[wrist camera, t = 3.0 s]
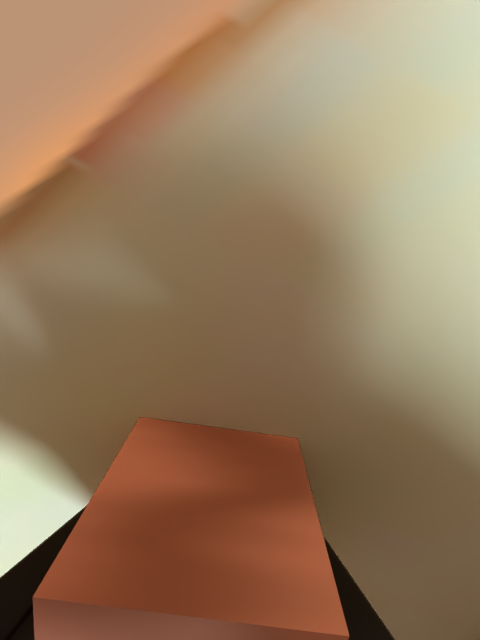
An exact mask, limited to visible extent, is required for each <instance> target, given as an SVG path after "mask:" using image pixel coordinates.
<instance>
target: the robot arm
mask: <svg viewBox="0 0 480 640" xmlns="http://www.w3.org/2000/svg"><path fill="white" fill-rule="evenodd" d="M86 507H87V506H86ZM86 507H84V508H83V509H82V510H81V511H80V512H78V513H77V514H76V515H75V516H74V517H72V518H71V519H70V520H69V521H68V522H66V523H65V524H64V525H63V526H62V527H60V528H59V529H58V530H57V531H56V532H54V533H53V534H52V535H51V536H50V537H48V538H47V539H46V540H45V541H44V542H42V543H41V544H40V545H39V546H38V547H36V548H35V549H34V550H33V551H32V552H30V553H29V554H28V555H27V556H26V557H24V558H23V559H22V560H21V561H20V562H18V563H17V564H16V565H15V566H14V567H12V568H11V569H10V570H9V571H8V572H6V573H5V574H4V575H3V576H2V577H0V640H35V638H34V617H33V596H34V594H35V592H36V591H37V589H38V587H39V585H40V584H41V582H42V580H43V579H44V577H45V575H46V574H47V572H48V570H49V569H50V567H51V565H52V564H53V562H54V560H55V559H56V557H57V555H58V554H59V552H60V550H61V549H62V547H63V545H64V544H65V542H66V540H67V538H68V537H69V535H70V533H71V532H72V530H73V528H74V527H75V525H76V523H77V522H78V520H79V518H80V517H81V515H82V513H83V512H84V510H85V508H86ZM323 537H324V536H323ZM324 541H325V545H326V549H327V553H328V556H329V560H330V564H331V568H332V572H333V575H334V579H335V583H336V587H337V591H338V594H339V598H340V602H341V606H342V610H343V613H344V617H345V621H346V625H347V629H348V632H349V639H348V640H395V639H394V638H393V636H392V635H391V634H390V632H389V631H388V629H387V628H386V626H385V625H384V623H383V622H382V620H381V619H380V618H379V616H378V615H377V613H376V612H375V610H374V609H373V607H372V606H371V604H370V603H369V602H368V600H367V599H366V597H365V596H364V594H363V593H362V591H361V590H360V588H359V587H358V586H357V584H356V583H355V581H354V580H353V578H352V577H351V575H350V574H349V572H348V571H347V569H346V568H345V567H344V565H343V564H342V562H341V561H340V559H339V558H338V556H337V555H336V553H335V552H334V551H333V549H332V548H331V546H330V545H329V543H328V542H327V540H326V539H325V537H324Z"/></svg>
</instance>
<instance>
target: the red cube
mask: <svg viewBox="0 0 480 640" xmlns="http://www.w3.org/2000/svg"><path fill="white" fill-rule="evenodd" d="M33 617H34V638H35V640H348V639H349V632H348V629H347V625H346V621H345V617H344V613H343V610H342V606H341V602H340V598H339V594H338V591H337V587H336V583H335V579H334V575H333V572H332V568H331V564H330V560H329V556H328V553H327V549H326V545H325V541H324V537H323V533H322V530H321V526H320V522H319V518H318V514H317V511H316V507H315V503H314V499H313V495H312V492H311V488H310V484H309V480H308V476H307V473H306V469H305V465H304V461H303V457H302V453H301V450H300V446H299V442H298V438H291V437H283V436H276V435H269V434H261V433H254V432H247V431H239V430H232V429H224V428H217V427H210V426H202V425H195V424H188V423H180V422H173V421H165V420H158V419H151V418H143V417H140V418H139V419H138V421H137V423H136V424H135V426H134V428H133V429H132V431H131V433H130V434H129V436H128V438H127V439H126V441H125V443H124V445H123V446H122V448H121V450H120V451H119V453H118V455H117V456H116V458H115V460H114V461H113V463H112V465H111V466H110V468H109V470H108V471H107V473H106V475H105V476H104V478H103V480H102V481H101V483H100V485H99V486H98V488H97V490H96V492H95V493H94V495H93V497H92V498H91V500H90V502H89V503H88V505H87V507H86V508H85V510H84V512H83V513H82V515H81V517H80V518H79V520H78V522H77V523H76V525H75V527H74V528H73V530H72V532H71V533H70V535H69V537H68V538H67V540H66V542H65V544H64V545H63V547H62V549H61V550H60V552H59V554H58V555H57V557H56V559H55V560H54V562H53V564H52V565H51V567H50V569H49V570H48V572H47V574H46V575H45V577H44V579H43V580H42V582H41V584H40V585H39V587H38V589H37V591H36V592H35V594H34V596H33Z"/></svg>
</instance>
